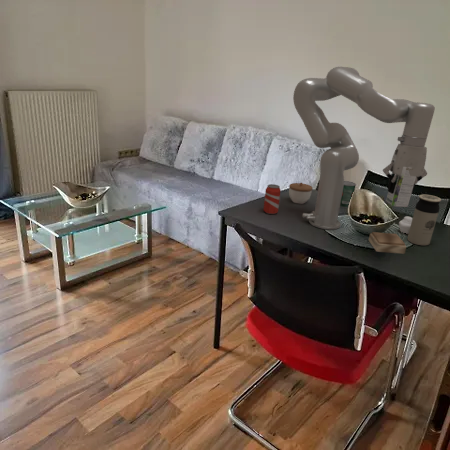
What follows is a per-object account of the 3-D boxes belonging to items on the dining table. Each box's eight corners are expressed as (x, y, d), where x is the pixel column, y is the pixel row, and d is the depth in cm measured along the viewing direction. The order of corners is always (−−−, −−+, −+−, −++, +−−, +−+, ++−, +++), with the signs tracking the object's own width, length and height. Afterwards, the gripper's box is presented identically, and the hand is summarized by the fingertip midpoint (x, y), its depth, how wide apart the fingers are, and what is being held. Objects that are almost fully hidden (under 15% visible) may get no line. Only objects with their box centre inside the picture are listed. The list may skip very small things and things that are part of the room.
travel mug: (403, 236, 157) (414, 193, 150) (424, 238, 157) (436, 194, 150) (412, 245, 150) (424, 200, 143) (433, 246, 150) (446, 201, 143)
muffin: (397, 233, 160) (401, 217, 157) (396, 228, 165) (400, 212, 163) (413, 236, 158) (418, 220, 156) (412, 231, 164) (417, 215, 161)
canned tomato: (331, 203, 191) (334, 181, 187) (343, 201, 195) (347, 180, 190) (342, 208, 185) (346, 186, 181) (355, 207, 188) (359, 184, 184)
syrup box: (385, 201, 143) (394, 161, 138) (400, 201, 144) (410, 162, 138) (392, 206, 138) (402, 166, 132) (408, 207, 139) (419, 166, 133)
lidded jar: (313, 205, 187) (316, 186, 183) (292, 205, 184) (294, 186, 181) (304, 198, 196) (307, 179, 193) (284, 198, 194) (286, 179, 190)
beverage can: (280, 213, 173) (284, 187, 169) (269, 215, 170) (272, 188, 165) (271, 209, 178) (274, 183, 173) (260, 211, 174) (263, 184, 170)
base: (376, 252, 143) (378, 242, 141) (368, 241, 152) (370, 231, 151) (404, 254, 143) (406, 244, 141) (394, 243, 152) (397, 233, 150)
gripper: (392, 141, 128) (379, 194, 135) (444, 145, 129) (428, 198, 136) (383, 137, 135) (371, 188, 142) (432, 141, 136) (418, 191, 143)
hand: (399, 192), depth 139 cm, fingers closed on syrup box, 5 cm apart
